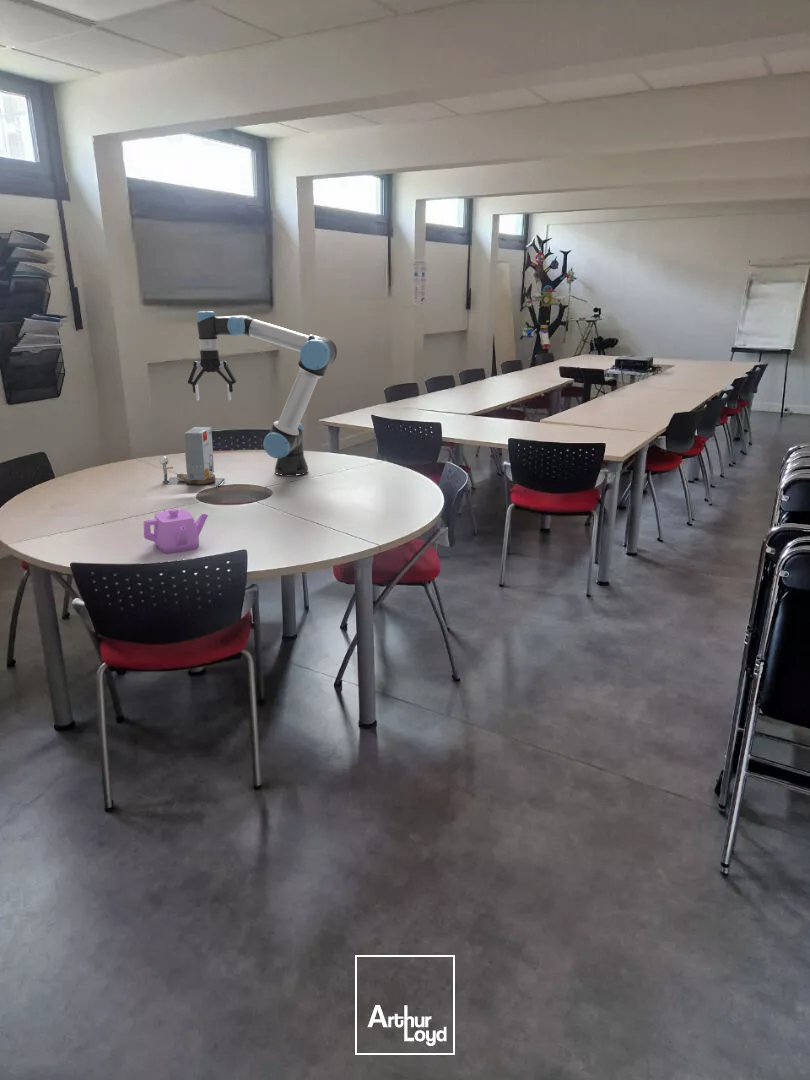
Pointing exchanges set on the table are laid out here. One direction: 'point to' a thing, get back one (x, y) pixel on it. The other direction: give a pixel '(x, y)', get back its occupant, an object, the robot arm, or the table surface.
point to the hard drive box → (199, 453)
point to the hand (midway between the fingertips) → (213, 400)
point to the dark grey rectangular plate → (174, 482)
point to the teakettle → (174, 530)
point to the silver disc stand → (165, 468)
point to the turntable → (184, 478)
